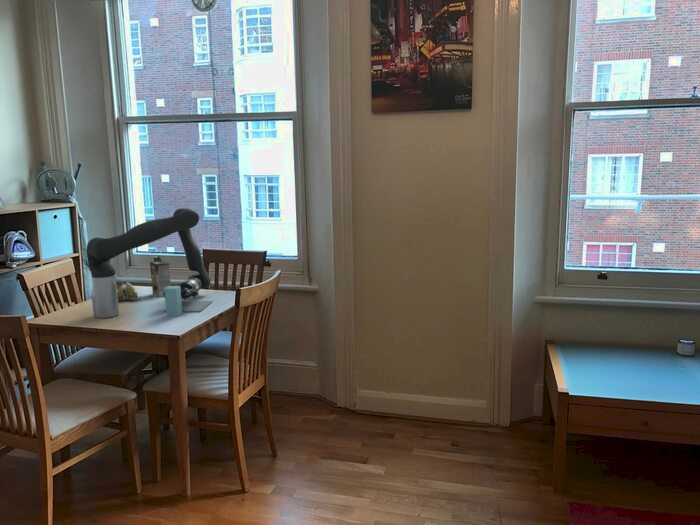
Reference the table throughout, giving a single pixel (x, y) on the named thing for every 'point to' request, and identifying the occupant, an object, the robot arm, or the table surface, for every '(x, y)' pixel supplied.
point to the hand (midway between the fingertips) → (175, 297)
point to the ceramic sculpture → (126, 292)
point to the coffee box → (160, 277)
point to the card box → (173, 301)
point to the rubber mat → (194, 306)
